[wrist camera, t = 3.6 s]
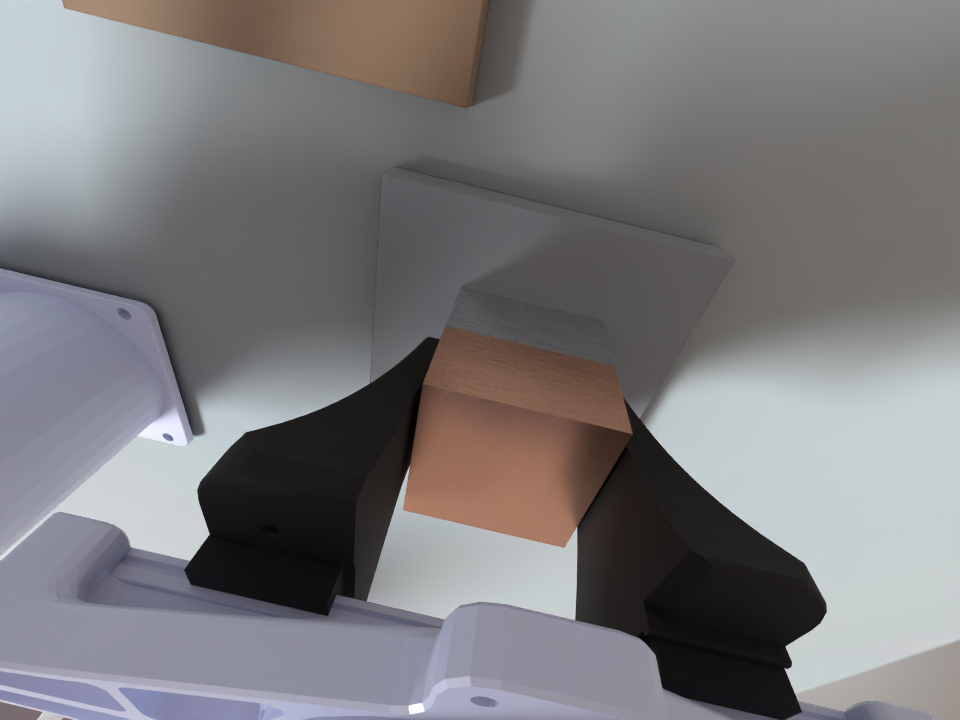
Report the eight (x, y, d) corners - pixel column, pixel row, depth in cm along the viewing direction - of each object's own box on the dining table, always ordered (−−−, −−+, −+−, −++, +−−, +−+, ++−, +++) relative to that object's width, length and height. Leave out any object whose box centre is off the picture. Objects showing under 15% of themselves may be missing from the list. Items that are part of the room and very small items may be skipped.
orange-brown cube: (439, 395, 15) (403, 510, 11) (460, 286, 13) (422, 383, 9) (558, 423, 15) (564, 547, 11) (603, 320, 13) (632, 433, 9)
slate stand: (376, 409, 18) (367, 428, 17) (394, 166, 12) (381, 174, 11) (597, 462, 18) (600, 483, 17) (718, 246, 12) (734, 260, 11)
